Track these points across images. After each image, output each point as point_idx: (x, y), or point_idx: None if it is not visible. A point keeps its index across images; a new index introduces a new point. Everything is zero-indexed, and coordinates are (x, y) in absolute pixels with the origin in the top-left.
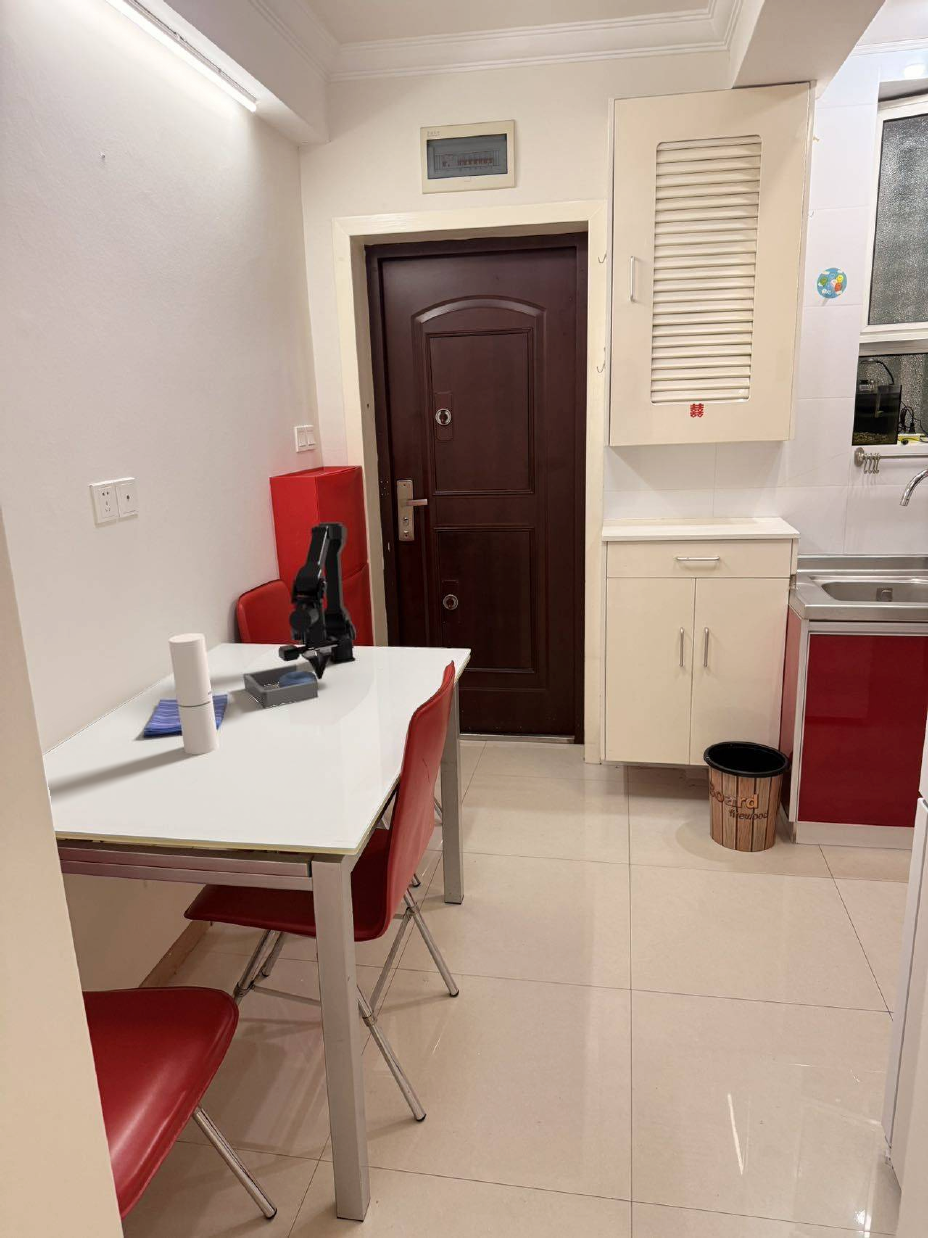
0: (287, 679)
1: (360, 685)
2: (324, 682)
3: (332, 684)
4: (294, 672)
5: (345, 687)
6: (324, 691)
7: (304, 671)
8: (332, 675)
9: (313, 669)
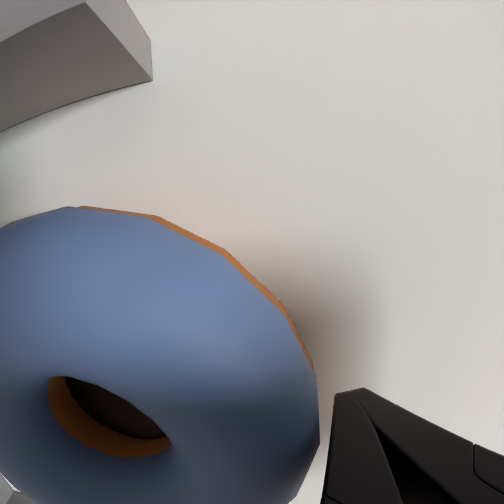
0: (23, 492)
1: (496, 434)
2: (386, 314)
3: (413, 387)
4: (28, 348)
5: None
6: (309, 487)
7: (178, 402)
8: (482, 145)
9: (325, 472)
